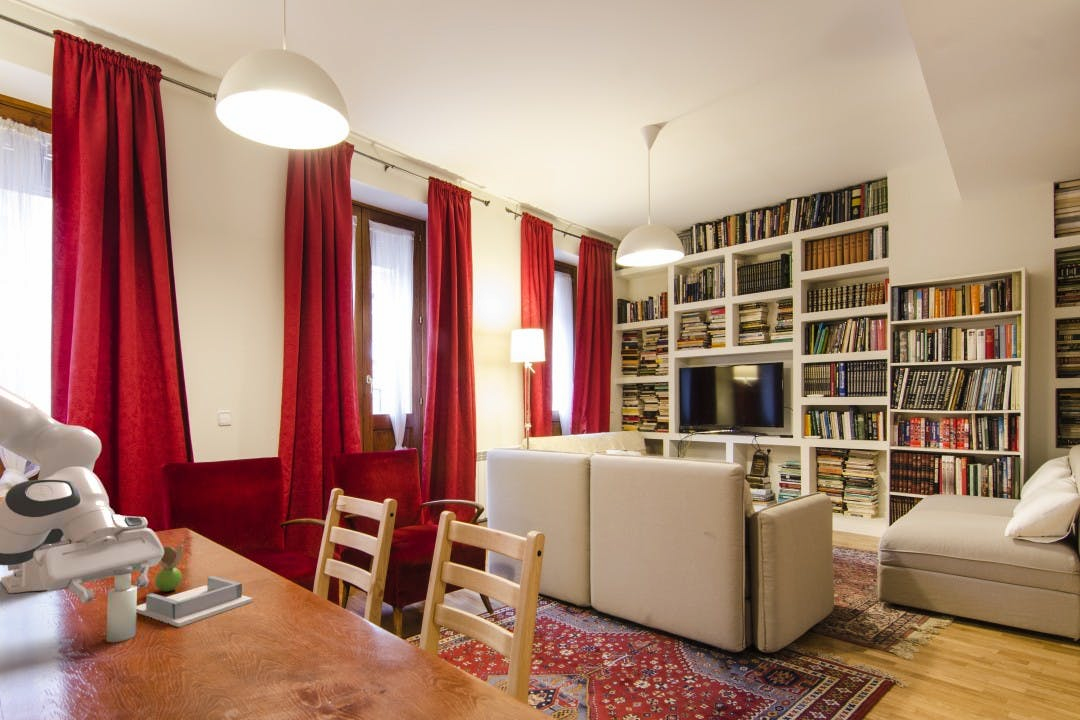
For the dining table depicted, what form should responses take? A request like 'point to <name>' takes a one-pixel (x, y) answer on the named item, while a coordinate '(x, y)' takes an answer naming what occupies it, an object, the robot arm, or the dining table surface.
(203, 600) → the u stand
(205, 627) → the dining table surface
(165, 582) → the snail figurine
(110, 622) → the pale green bottle
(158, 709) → the dining table surface
